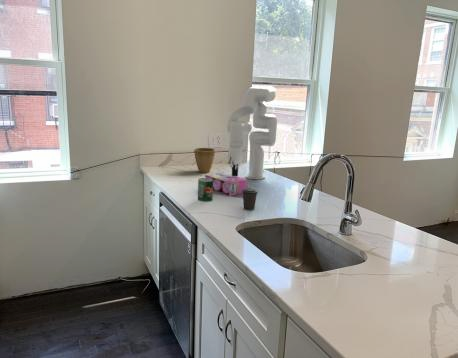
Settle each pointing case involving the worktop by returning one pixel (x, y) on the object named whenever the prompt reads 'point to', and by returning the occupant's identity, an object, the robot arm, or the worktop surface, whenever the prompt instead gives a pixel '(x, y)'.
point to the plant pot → (204, 159)
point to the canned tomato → (205, 189)
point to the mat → (231, 195)
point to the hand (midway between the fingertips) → (234, 175)
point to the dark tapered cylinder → (249, 198)
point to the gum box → (228, 183)
